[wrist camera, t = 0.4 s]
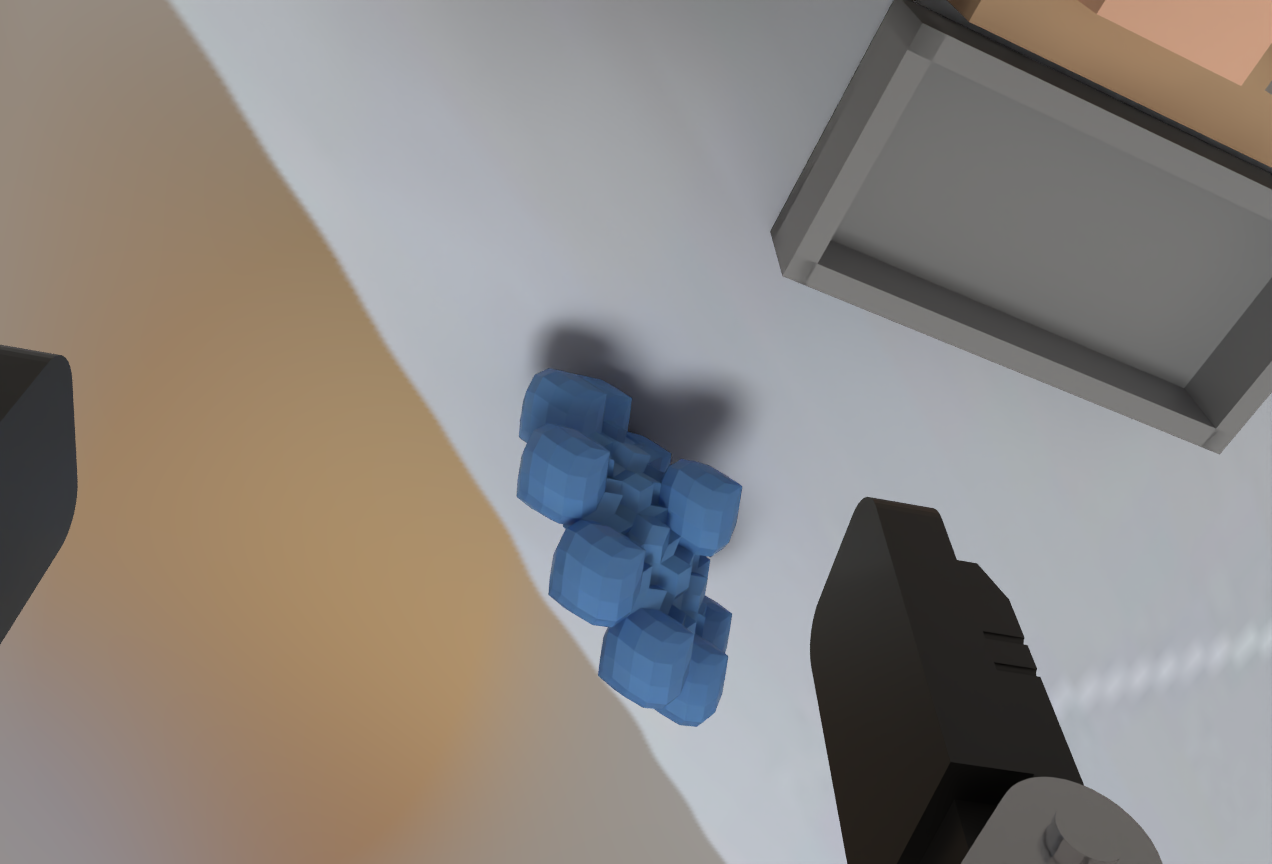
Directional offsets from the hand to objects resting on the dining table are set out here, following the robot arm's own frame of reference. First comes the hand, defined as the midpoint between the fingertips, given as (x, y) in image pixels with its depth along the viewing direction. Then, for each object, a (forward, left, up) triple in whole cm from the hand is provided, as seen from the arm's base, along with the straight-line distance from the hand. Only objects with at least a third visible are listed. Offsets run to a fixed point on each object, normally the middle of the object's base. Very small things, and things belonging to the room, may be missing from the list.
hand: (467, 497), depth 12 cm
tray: (+1, +18, -27) cm, 33 cm away
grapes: (+14, +9, -28) cm, 32 cm away
